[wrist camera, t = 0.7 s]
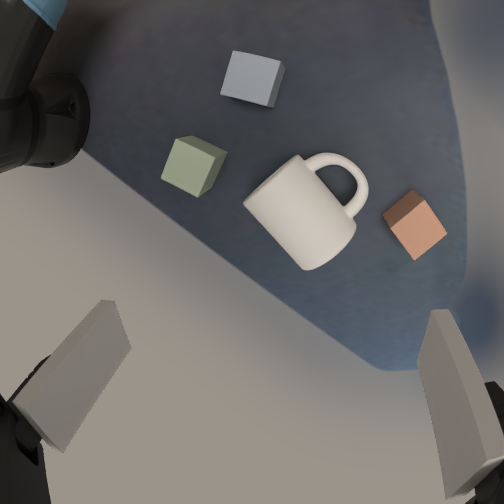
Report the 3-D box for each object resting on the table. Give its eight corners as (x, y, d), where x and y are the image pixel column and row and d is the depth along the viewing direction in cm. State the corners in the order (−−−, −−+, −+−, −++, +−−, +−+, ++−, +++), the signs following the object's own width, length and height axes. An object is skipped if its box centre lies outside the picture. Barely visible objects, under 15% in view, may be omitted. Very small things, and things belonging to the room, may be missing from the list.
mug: (303, 251, 40) (299, 282, 33) (250, 192, 38) (234, 211, 31) (379, 194, 35) (393, 214, 28) (325, 128, 33) (328, 130, 26)
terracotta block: (381, 214, 36) (390, 228, 31) (411, 189, 34) (424, 199, 29) (404, 243, 37) (414, 260, 32) (433, 219, 34) (447, 233, 30)
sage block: (178, 170, 39) (160, 178, 34) (192, 135, 37) (175, 138, 32) (211, 187, 39) (197, 197, 34) (228, 152, 37) (215, 157, 32)
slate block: (232, 96, 34) (220, 94, 29) (244, 58, 31) (233, 50, 27) (273, 107, 33) (266, 106, 29) (285, 68, 31) (280, 61, 27)
